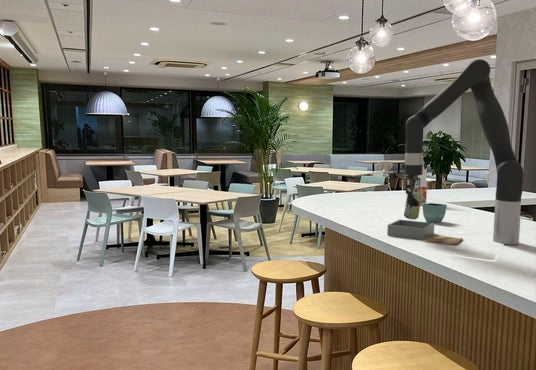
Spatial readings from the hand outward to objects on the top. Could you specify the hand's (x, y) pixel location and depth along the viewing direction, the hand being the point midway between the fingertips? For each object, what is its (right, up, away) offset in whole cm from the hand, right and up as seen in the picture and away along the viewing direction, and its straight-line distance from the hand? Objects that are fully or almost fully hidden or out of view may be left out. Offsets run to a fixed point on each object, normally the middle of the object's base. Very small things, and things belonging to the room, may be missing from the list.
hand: (412, 202), depth 205 cm
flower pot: (+20, -11, +30) cm, 38 cm away
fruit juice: (+29, -5, +85) cm, 90 cm away
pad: (+10, -15, -11) cm, 21 cm away
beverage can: (0, -7, +1) cm, 7 cm away
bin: (0, -14, +2) cm, 14 cm away
